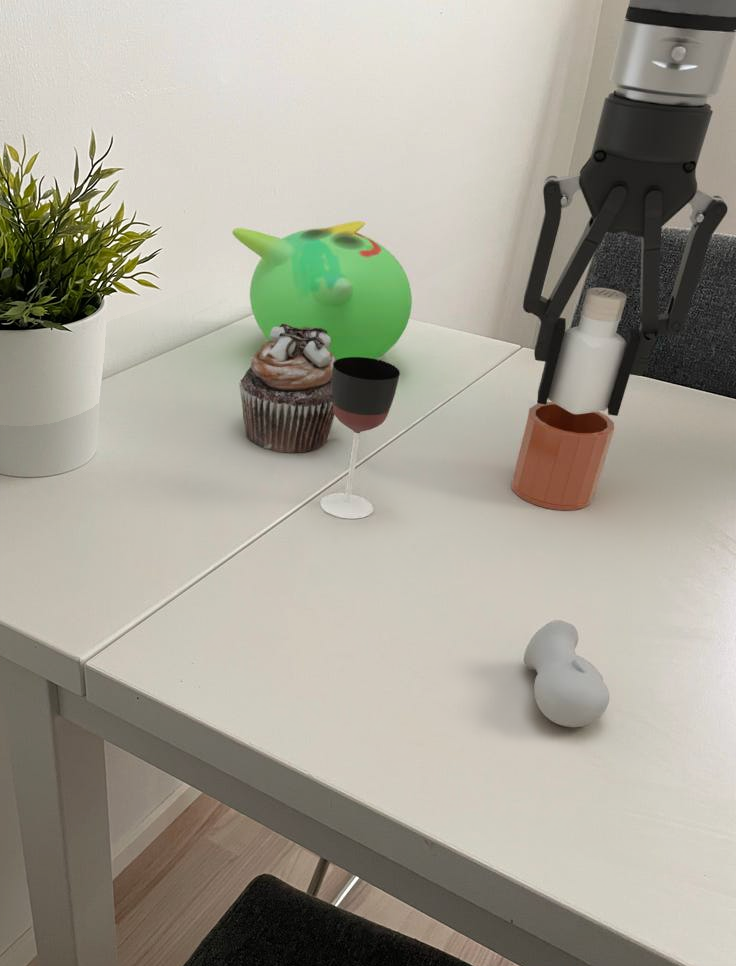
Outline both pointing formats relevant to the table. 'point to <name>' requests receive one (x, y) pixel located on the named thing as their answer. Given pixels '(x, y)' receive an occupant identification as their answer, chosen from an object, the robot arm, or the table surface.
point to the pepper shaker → (590, 355)
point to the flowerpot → (561, 457)
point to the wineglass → (359, 417)
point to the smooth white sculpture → (565, 677)
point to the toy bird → (330, 287)
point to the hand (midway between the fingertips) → (577, 403)
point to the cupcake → (290, 391)
